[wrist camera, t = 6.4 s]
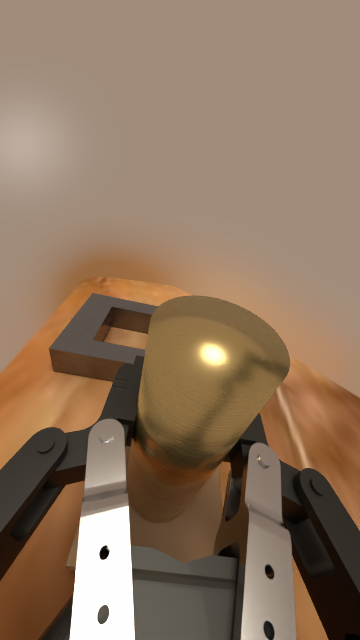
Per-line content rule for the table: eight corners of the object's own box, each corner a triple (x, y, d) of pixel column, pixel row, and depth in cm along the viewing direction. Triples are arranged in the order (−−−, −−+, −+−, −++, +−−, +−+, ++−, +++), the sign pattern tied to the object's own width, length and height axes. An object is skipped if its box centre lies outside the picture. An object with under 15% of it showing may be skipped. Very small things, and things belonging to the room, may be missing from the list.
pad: (208, 438, 19) (215, 427, 17) (215, 587, 12) (227, 584, 11) (114, 423, 18) (115, 410, 17) (68, 571, 11) (65, 565, 10)
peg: (195, 445, 16) (267, 308, 9) (195, 527, 12) (316, 408, 5) (134, 435, 15) (159, 286, 8) (116, 517, 12) (134, 375, 5)
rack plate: (238, 341, 30) (247, 323, 28) (254, 406, 22) (267, 387, 20) (93, 312, 29) (92, 291, 27) (53, 371, 21) (48, 346, 19)
